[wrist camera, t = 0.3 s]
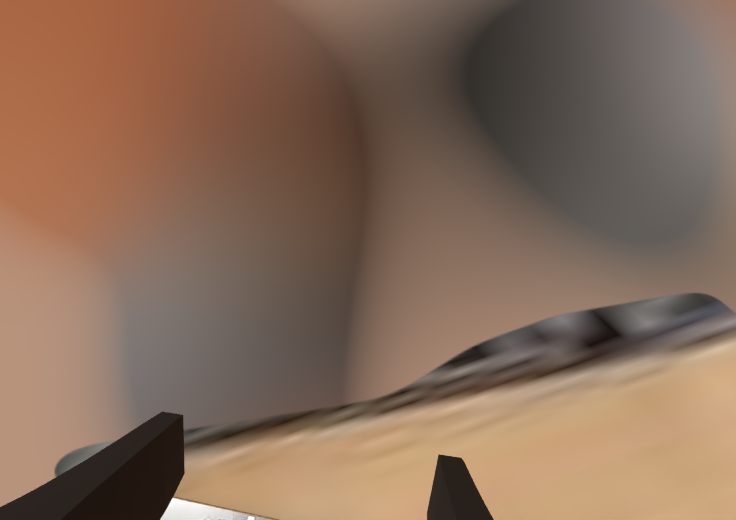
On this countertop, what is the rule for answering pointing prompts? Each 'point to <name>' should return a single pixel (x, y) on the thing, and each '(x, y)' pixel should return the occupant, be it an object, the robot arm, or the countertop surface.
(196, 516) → the dial plate
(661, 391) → the countertop surface
